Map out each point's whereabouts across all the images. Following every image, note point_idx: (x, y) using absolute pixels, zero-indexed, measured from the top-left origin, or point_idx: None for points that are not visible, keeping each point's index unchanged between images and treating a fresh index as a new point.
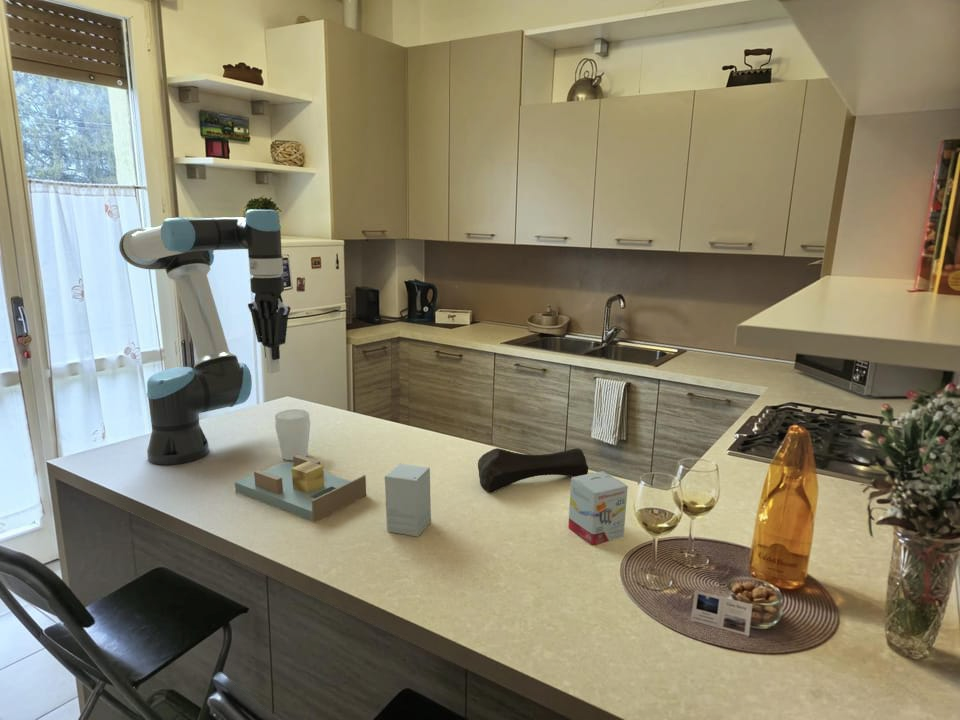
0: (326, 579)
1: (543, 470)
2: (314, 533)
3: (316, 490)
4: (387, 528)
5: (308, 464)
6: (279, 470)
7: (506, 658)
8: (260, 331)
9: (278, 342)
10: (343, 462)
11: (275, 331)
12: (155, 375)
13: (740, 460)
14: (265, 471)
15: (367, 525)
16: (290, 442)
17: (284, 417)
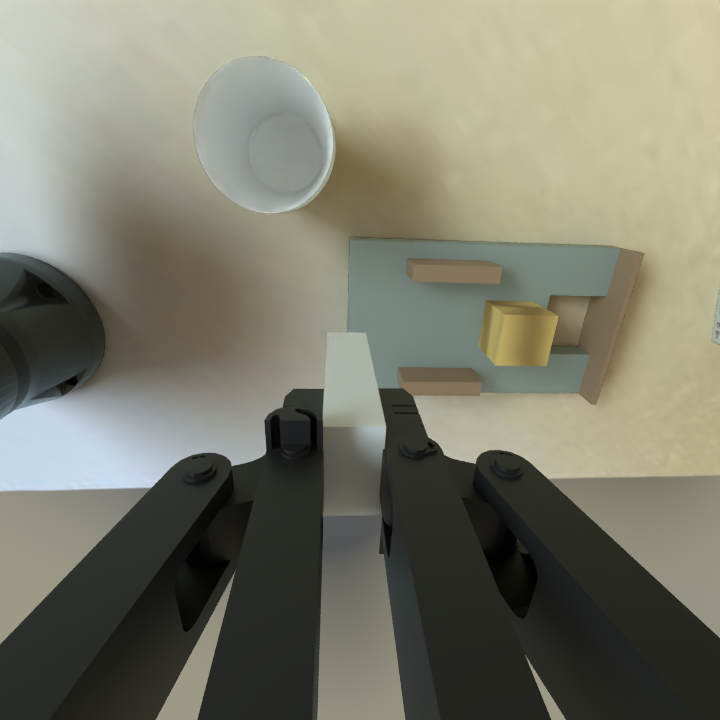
0: (673, 473)
1: None
2: (592, 407)
3: None
4: (718, 343)
5: (519, 329)
6: (379, 297)
7: None
8: (182, 643)
9: (520, 547)
10: (443, 107)
11: (560, 696)
12: None
13: None
14: (354, 319)
15: (667, 342)
16: (310, 194)
17: (201, 125)
